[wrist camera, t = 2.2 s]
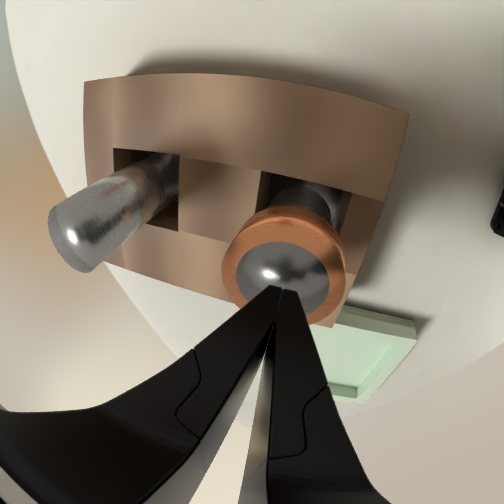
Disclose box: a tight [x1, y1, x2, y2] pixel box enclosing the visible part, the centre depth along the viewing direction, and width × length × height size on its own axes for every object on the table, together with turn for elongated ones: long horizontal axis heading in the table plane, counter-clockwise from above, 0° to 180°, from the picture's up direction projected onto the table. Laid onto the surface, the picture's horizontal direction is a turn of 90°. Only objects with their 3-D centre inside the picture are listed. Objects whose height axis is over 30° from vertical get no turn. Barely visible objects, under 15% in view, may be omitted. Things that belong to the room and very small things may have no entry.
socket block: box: [83, 73, 409, 328], centre depth 14 cm, size 16×12×4 cm
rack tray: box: [309, 305, 418, 404], centre depth 20 cm, size 10×10×2 cm
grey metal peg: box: [48, 152, 180, 273], centre depth 13 cm, size 3×3×9 cm
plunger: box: [221, 187, 346, 325], centre depth 11 cm, size 4×4×5 cm
